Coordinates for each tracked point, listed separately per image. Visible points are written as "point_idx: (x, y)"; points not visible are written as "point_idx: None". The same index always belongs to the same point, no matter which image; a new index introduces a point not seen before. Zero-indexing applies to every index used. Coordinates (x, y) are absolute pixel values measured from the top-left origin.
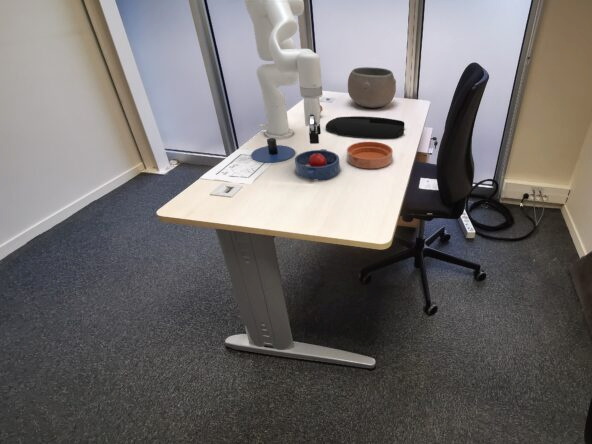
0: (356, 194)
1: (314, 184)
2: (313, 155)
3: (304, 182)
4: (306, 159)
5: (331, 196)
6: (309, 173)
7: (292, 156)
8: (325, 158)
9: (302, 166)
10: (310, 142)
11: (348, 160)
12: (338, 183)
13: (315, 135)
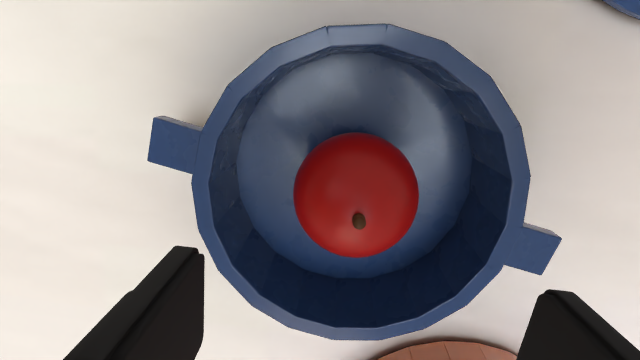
0: (83, 322)
1: None
2: (347, 190)
3: (209, 89)
4: (471, 115)
5: (57, 219)
6: (154, 135)
7: (612, 3)
8: (462, 240)
9: (224, 90)
10: (173, 254)
11: (431, 349)
12: None
13: None
